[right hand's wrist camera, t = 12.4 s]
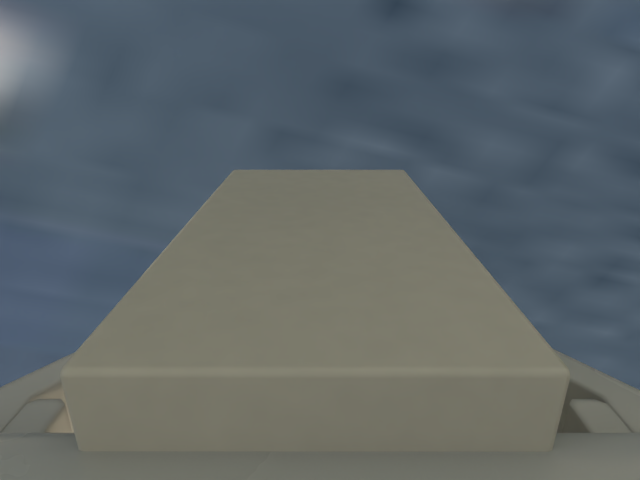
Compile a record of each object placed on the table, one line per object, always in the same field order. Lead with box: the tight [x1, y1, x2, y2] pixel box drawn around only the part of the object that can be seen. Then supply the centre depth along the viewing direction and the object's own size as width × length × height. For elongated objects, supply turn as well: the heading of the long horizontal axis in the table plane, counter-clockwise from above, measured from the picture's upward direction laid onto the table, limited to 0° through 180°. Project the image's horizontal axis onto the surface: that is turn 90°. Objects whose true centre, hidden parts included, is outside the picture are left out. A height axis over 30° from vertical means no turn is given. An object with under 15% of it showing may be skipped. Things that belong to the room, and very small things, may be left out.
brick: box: [60, 170, 570, 452], centre depth 10 cm, size 5×6×10 cm
